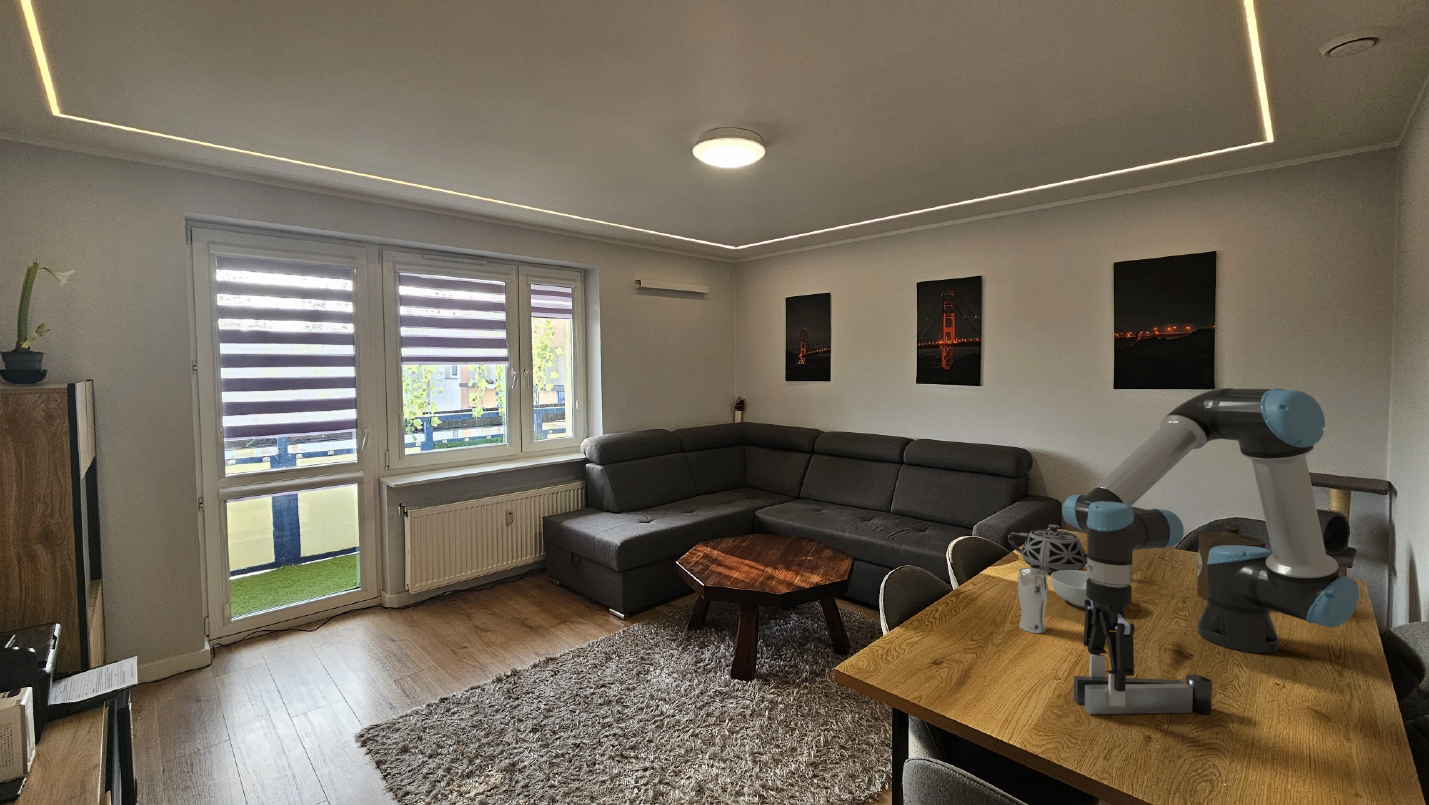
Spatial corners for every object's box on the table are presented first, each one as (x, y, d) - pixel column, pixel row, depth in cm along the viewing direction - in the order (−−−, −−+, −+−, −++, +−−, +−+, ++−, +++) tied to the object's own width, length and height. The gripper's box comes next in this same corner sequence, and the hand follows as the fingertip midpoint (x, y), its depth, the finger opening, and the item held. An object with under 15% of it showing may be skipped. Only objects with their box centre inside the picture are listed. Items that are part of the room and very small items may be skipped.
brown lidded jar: (1218, 587, 182) (1220, 516, 181) (1277, 605, 168) (1279, 528, 167) (1184, 594, 178) (1186, 521, 177) (1242, 612, 164) (1244, 533, 163)
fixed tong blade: (1202, 704, 119) (1202, 675, 119) (1216, 715, 116) (1217, 685, 115) (1072, 698, 122) (1073, 670, 122) (1082, 709, 118) (1083, 680, 118)
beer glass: (1051, 635, 151) (1052, 577, 151) (1022, 633, 153) (1022, 575, 152) (1042, 624, 158) (1043, 568, 158) (1014, 622, 160) (1014, 567, 159)
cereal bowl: (1055, 610, 167) (1055, 585, 167) (1046, 590, 183) (1047, 567, 182) (1126, 618, 161) (1127, 593, 161) (1112, 597, 176) (1112, 573, 176)
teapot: (1104, 588, 183) (1105, 540, 183) (999, 567, 205) (999, 524, 204) (1116, 572, 197) (1117, 527, 197) (1016, 554, 218) (1017, 513, 218)
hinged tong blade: (1186, 708, 118) (1186, 683, 117) (1192, 712, 116) (1192, 687, 116) (1084, 709, 118) (1085, 685, 117) (1089, 714, 116) (1089, 689, 116)
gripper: (1065, 565, 128) (1063, 671, 129) (1116, 598, 109) (1113, 722, 110) (1102, 566, 127) (1100, 672, 128) (1160, 599, 108) (1157, 724, 109)
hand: (1106, 695), depth 119 cm, fingers open, 6 cm apart
